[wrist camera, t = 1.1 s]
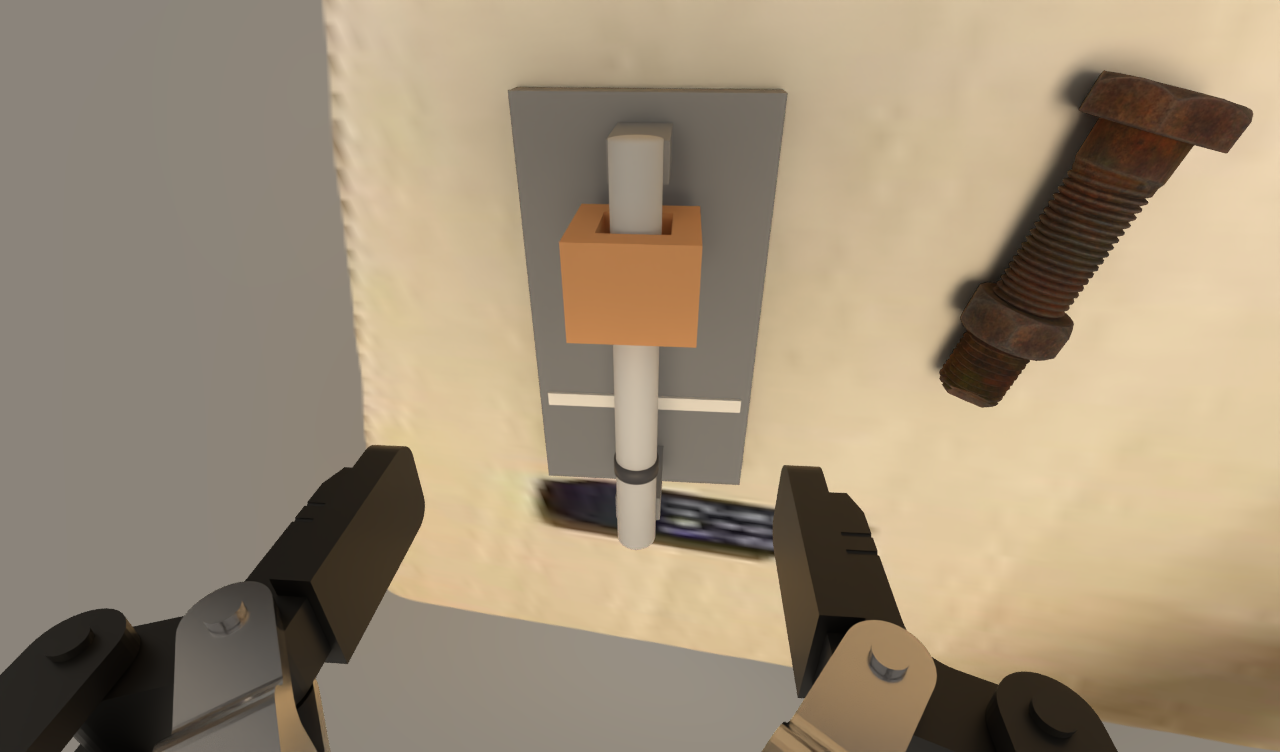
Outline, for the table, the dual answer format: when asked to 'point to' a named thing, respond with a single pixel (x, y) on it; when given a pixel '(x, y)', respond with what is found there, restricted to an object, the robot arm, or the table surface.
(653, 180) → the pipe stand
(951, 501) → the table surface
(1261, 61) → the table surface
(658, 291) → the collar
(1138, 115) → the bolt
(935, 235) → the table surface
